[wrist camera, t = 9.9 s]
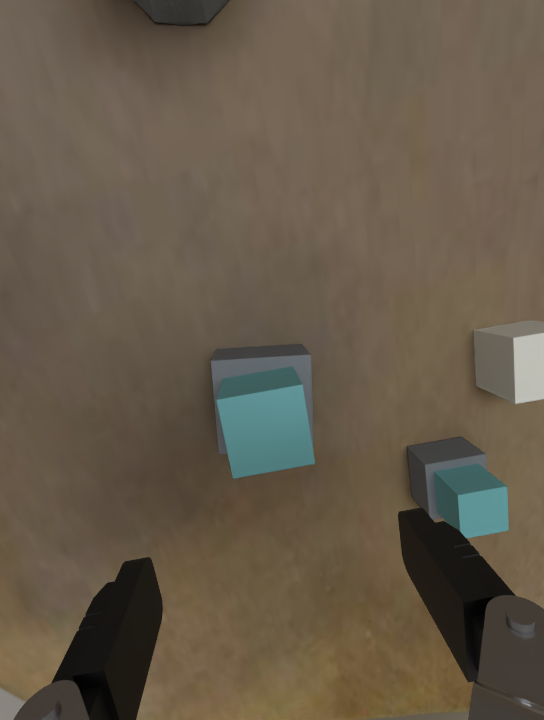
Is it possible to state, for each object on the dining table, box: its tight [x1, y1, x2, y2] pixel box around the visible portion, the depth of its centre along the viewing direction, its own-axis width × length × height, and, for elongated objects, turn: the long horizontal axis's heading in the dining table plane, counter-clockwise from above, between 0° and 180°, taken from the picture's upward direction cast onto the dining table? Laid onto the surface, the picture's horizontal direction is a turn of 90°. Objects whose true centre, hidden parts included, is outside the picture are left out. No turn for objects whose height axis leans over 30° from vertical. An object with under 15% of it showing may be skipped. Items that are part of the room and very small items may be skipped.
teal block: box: [217, 366, 315, 479], centre depth 24 cm, size 5×5×5 cm
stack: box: [407, 437, 509, 538], centre depth 30 cm, size 5×5×7 cm
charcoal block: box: [211, 344, 314, 454], centre depth 29 cm, size 7×7×5 cm
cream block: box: [473, 320, 544, 404], centre depth 30 cm, size 5×5×5 cm
